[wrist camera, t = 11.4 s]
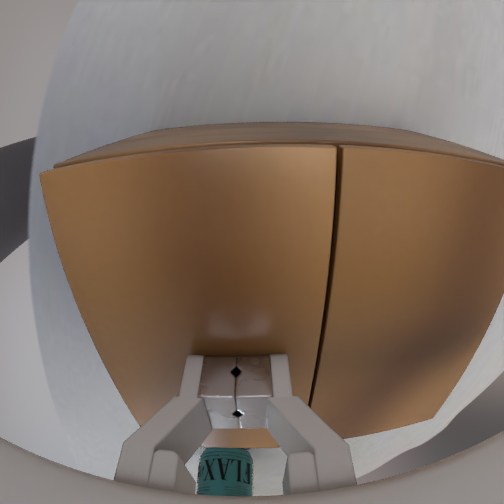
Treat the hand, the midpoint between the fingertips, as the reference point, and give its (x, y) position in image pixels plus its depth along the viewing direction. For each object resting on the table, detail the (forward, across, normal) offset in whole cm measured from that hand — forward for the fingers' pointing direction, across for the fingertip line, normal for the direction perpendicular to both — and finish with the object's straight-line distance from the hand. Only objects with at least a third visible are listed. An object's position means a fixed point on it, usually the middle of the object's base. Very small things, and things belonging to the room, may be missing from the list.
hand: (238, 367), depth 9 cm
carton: (+10, -2, 0) cm, 11 cm away
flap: (0, +1, 0) cm, 1 cm away
